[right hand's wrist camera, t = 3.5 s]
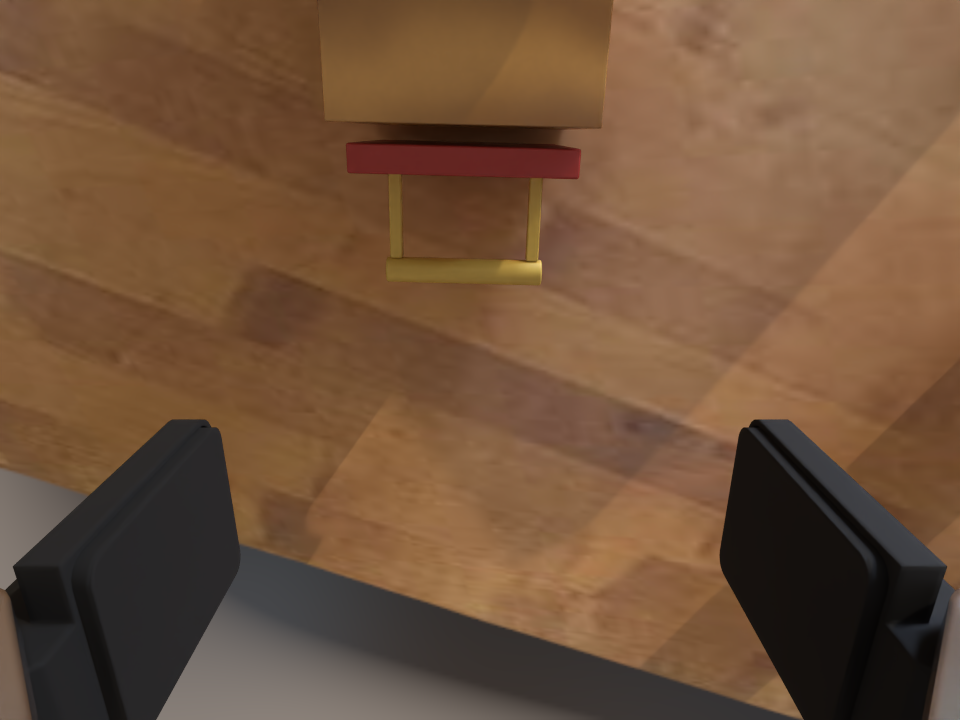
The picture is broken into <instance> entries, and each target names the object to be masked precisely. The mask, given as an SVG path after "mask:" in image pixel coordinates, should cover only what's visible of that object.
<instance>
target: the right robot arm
mask: <svg viewBox="0 0 960 720" xmlns="http://www.w3.org/2000/svg"><path fill="white" fill-rule="evenodd" d="M239 564H240V548H239V541H238V535H237V529H236V523H235V517H234V511H233V505H232V499H231V493H230V487H229V481H228V475H227V469H226V462H225V456H224V450H223V444H222V438H221V434H220V431H219V429H217V428H211V426H210V424H209V422H208V421H206V420H171V421H169V422H168V423H167V424H166V425H165V426H164V427H162V428H161V429H160V430H159V431H158V432H157V433H156V434H155V435H154V436H153V437H152V438H151V439H150V440H148V441H147V442H146V443H145V444H144V445H143V446H142V447H141V448H140V449H139V450H138V451H137V452H136V453H134V454H133V455H132V456H131V457H130V458H129V459H128V460H127V461H126V462H125V463H124V464H123V465H122V466H120V467H119V468H118V469H117V470H116V471H115V472H114V473H113V474H112V475H111V476H110V477H109V478H108V479H106V480H105V481H104V482H103V483H102V484H101V485H100V486H99V487H98V488H97V489H96V490H95V491H94V492H92V493H91V494H90V495H89V496H88V497H87V498H86V499H85V500H84V501H83V502H82V503H81V504H80V505H78V506H77V507H76V508H75V509H74V510H73V511H72V512H71V513H70V514H69V515H68V516H67V517H66V518H64V519H63V520H62V521H61V522H60V523H59V524H58V525H57V526H56V527H55V528H54V529H53V530H52V531H51V532H49V533H48V534H47V535H46V536H45V537H44V538H43V539H42V540H41V541H40V542H39V543H38V544H37V545H35V546H34V547H33V548H32V549H31V550H30V551H29V552H28V553H27V554H26V555H25V556H24V557H23V558H21V559H20V560H19V561H18V562H17V563H16V564H15V565H14V566H13V569H14V572H15V575H16V578H17V579H16V580H15V581H14V582H13V583H12V584H11V585H10V586H9V587H8V588H7V589H6V590H3V589H1V588H0V720H156V719H157V717H158V715H159V714H160V712H161V710H162V708H163V706H164V704H165V703H166V701H167V699H168V697H169V695H170V694H171V692H172V690H173V688H174V686H175V684H176V683H177V681H178V679H179V677H180V675H181V674H182V672H183V670H184V668H185V666H186V665H187V663H188V661H189V659H190V657H191V656H192V654H193V652H194V650H195V648H196V646H197V645H198V643H199V641H200V639H201V637H202V636H203V634H204V632H205V630H206V628H207V627H208V625H209V623H210V621H211V619H212V617H213V616H214V614H215V612H216V610H217V608H218V606H219V605H220V603H221V601H222V599H223V598H224V596H225V594H226V592H227V590H228V588H229V587H230V585H231V583H232V581H233V579H234V578H235V576H236V574H237V572H238V569H239ZM720 564H721V569H722V572H723V574H724V576H725V578H726V579H727V581H728V583H729V585H730V587H731V588H732V590H733V592H734V594H735V596H736V598H737V599H738V601H739V603H740V605H741V607H742V608H743V610H744V612H745V614H746V616H747V617H748V619H749V621H750V623H751V625H752V627H753V628H754V630H755V632H756V634H757V636H758V637H759V639H760V641H761V643H762V645H763V646H764V648H765V650H766V652H767V654H768V656H769V657H770V659H771V661H772V663H773V665H774V666H775V668H776V670H777V672H778V674H779V675H780V677H781V679H782V681H783V683H784V685H785V686H786V688H787V690H788V692H789V694H790V695H791V697H792V699H793V701H794V703H795V704H796V706H797V708H798V710H799V712H800V714H801V715H802V717H803V719H804V720H960V588H959V589H957V590H954V589H953V588H952V587H951V586H950V585H949V584H948V583H947V582H946V581H945V580H944V579H943V578H944V575H945V572H946V569H947V566H946V565H945V564H944V563H943V562H942V561H941V560H940V559H939V558H938V557H936V556H935V555H934V554H933V553H932V552H931V551H930V550H929V549H928V548H927V547H926V546H925V545H924V544H922V543H921V542H920V541H919V540H918V539H917V538H916V537H915V536H914V535H913V534H912V533H911V532H910V531H908V530H907V529H906V528H905V527H904V526H903V525H902V524H901V523H900V522H899V521H898V520H897V519H896V518H894V517H893V516H892V515H891V514H890V513H889V512H888V511H887V510H886V509H885V508H884V507H883V506H882V505H880V504H879V503H878V502H877V501H876V500H875V499H874V498H873V497H872V496H871V495H870V494H869V493H868V492H866V491H865V490H864V489H863V488H862V487H861V486H860V485H859V484H858V483H857V482H856V481H855V480H854V479H852V478H851V477H850V476H849V475H848V474H847V473H846V472H845V471H844V470H843V469H842V468H841V467H840V466H838V465H837V464H836V463H835V462H834V461H833V460H832V459H831V458H830V457H829V456H828V455H827V454H826V453H824V452H823V451H822V450H821V449H820V448H819V447H818V446H817V445H816V444H815V443H814V442H813V441H812V440H810V439H809V438H808V437H807V436H806V435H805V434H804V433H803V432H802V431H801V430H800V429H799V428H798V427H796V426H795V425H794V424H793V423H792V422H791V421H789V420H753V421H752V422H751V424H750V426H749V428H743V429H741V431H740V434H739V438H738V444H737V450H736V456H735V462H734V468H733V475H732V481H731V487H730V493H729V499H728V505H727V511H726V517H725V523H724V529H723V535H722V541H721V548H720Z"/></svg>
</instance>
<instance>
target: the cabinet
mask: <svg viewBox="0 0 960 720" xmlns="http://www.w3.org/2000/svg"><path fill="white" fill-rule="evenodd" d="M317 3H318V20H319V36H320V53H321V70H322V87H323V104H324V120H325V121H332V122H347V123H363V124H384V125H422V126H459V127H496V128H534V129H599V128H602V121H603V109H604V98H605V87H606V75H607V64H608V53H609V41H610V30H611V19H612V8H613V0H317Z"/></svg>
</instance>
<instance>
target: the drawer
mask: <svg viewBox="0 0 960 720" xmlns="http://www.w3.org/2000/svg"><path fill="white" fill-rule="evenodd" d="M346 155H347V171H348V173H363V174H388V186H389V224H390V257H387V260H386V278H387V281H389V282H425V283H464V284H503V285H540V284H541V278H542V263H541V261H540V260H538V251H539V234H540V217H541V200H542V183H543V178H552V179H578V178H579V171H580V159H581V150H580V149H577V148H571V147H566V146H560V145H555V144H519V143H482V142H444V141H407V140H375V141H363V142H351V143H347V144H346ZM402 175H439V176H477V177H515V178H529V197H528V216H527V236H526V256H525V259H526V260H503V259H464V258H425V257H403V206H402Z"/></svg>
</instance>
